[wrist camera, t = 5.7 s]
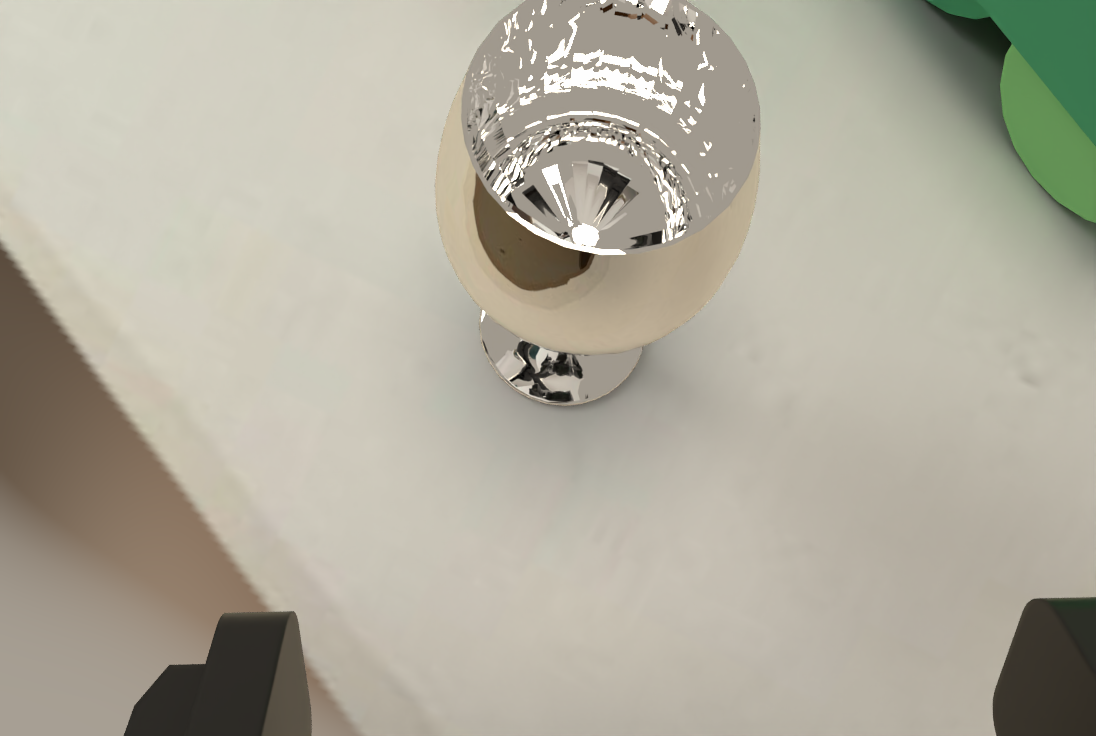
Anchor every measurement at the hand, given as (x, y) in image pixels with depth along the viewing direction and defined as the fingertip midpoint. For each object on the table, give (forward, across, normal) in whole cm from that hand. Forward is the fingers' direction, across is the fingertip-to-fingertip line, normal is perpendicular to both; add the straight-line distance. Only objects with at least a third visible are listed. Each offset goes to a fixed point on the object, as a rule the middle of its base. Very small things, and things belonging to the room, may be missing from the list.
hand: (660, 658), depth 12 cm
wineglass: (+16, 0, +5) cm, 17 cm away
